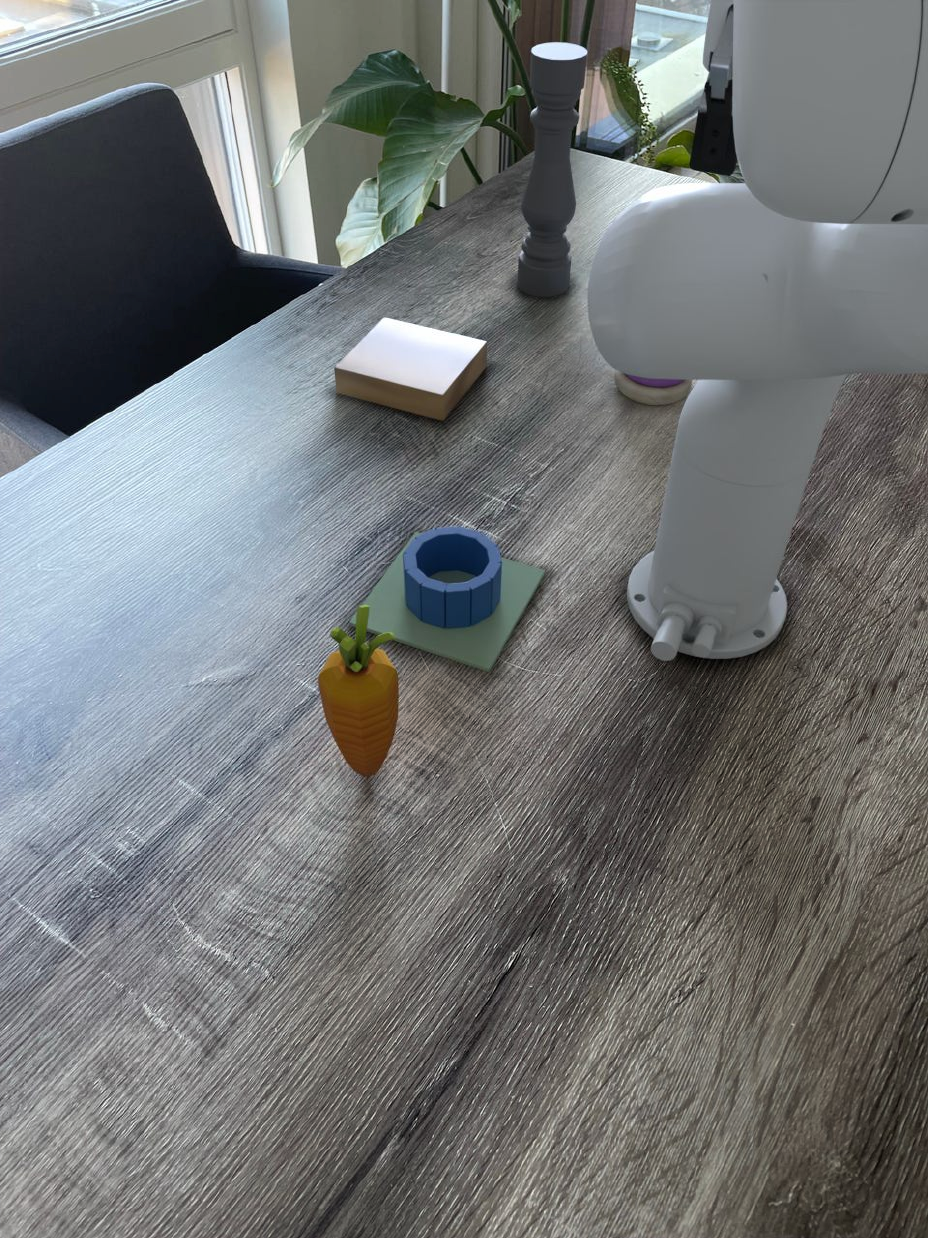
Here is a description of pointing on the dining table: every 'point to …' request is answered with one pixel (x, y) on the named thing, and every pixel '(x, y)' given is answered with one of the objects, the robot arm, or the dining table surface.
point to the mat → (456, 644)
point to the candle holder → (551, 168)
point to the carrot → (360, 697)
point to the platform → (411, 368)
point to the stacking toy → (652, 388)
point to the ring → (457, 599)
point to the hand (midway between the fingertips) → (727, 147)
